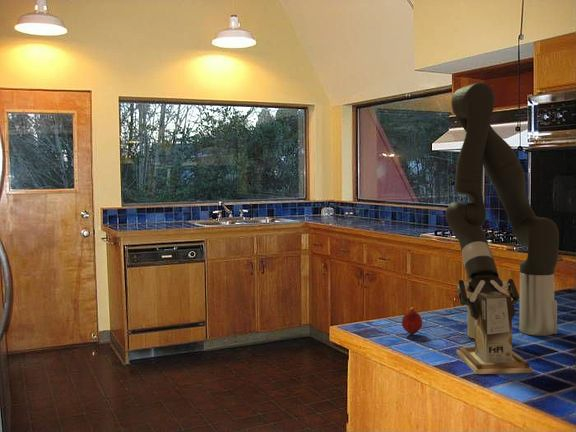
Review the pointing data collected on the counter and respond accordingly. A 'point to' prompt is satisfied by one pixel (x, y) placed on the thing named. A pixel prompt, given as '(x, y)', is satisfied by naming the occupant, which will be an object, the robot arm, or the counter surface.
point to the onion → (412, 321)
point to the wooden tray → (492, 368)
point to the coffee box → (494, 327)
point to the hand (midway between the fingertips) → (494, 317)
